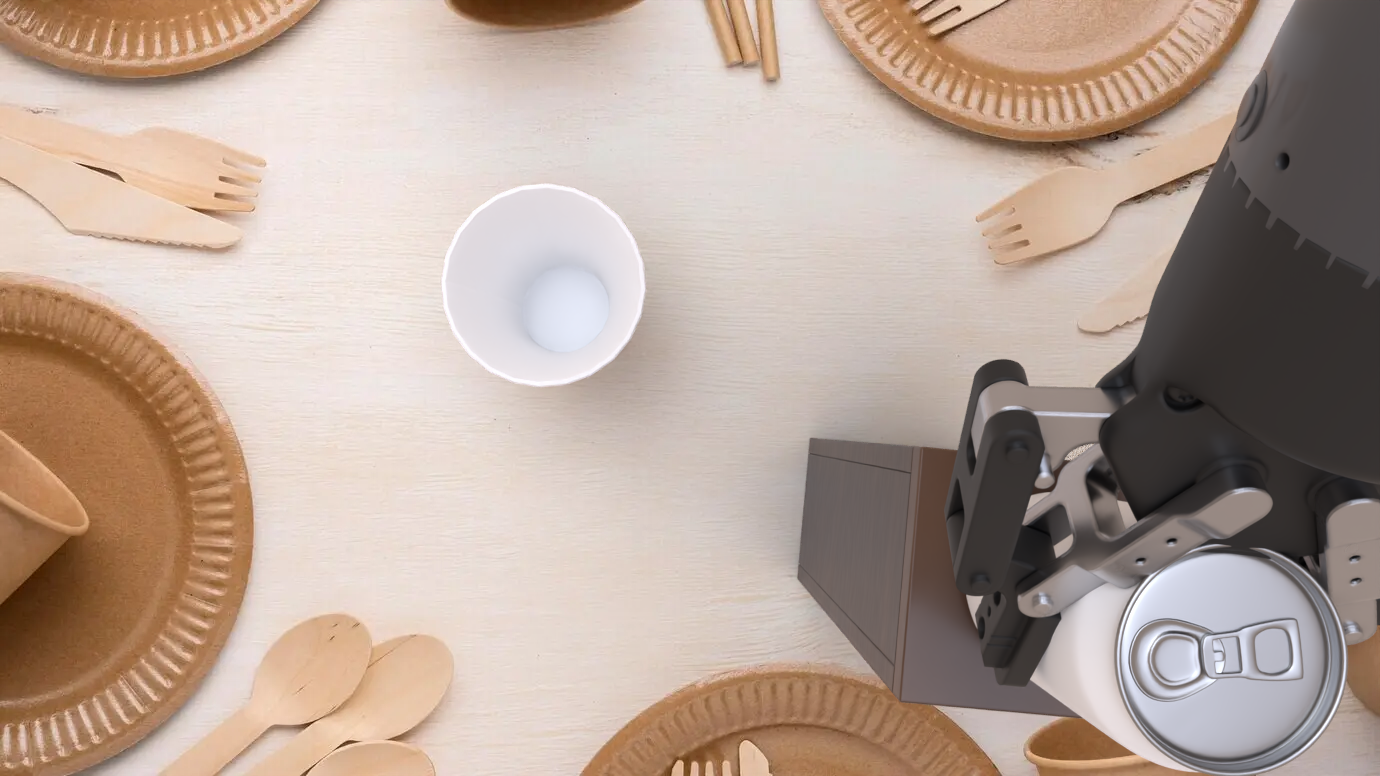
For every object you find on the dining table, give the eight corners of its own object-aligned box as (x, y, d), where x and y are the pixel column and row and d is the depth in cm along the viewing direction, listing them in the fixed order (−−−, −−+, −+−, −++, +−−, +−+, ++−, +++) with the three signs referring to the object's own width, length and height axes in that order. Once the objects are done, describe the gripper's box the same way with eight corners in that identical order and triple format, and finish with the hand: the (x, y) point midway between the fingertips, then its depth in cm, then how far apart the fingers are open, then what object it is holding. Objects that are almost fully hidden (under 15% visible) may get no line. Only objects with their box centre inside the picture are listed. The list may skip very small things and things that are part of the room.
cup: (648, 398, 67) (642, 391, 54) (483, 392, 67) (435, 383, 53) (654, 234, 67) (650, 186, 54) (490, 228, 67) (444, 178, 54)
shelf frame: (965, 452, 67) (1184, 471, 39) (953, 593, 67) (1165, 718, 38) (809, 437, 67) (913, 445, 38) (797, 579, 67) (891, 694, 38)
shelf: (1184, 471, 39) (1200, 472, 37) (1165, 718, 38) (1181, 728, 37) (913, 445, 38) (920, 446, 37) (891, 694, 38) (899, 703, 37)
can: (952, 498, 37) (1084, 535, 25) (1134, 481, 37) (1352, 511, 25) (970, 683, 37) (1112, 808, 25) (1152, 665, 37) (1381, 783, 25)
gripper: (1109, 263, 17) (891, 770, 28) (1998, 349, 17) (1423, 818, 28) (1025, 52, 22) (871, 547, 34) (1696, 118, 22) (1317, 588, 34)
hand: (1124, 669), depth 31 cm, fingers closed on can, 6 cm apart
